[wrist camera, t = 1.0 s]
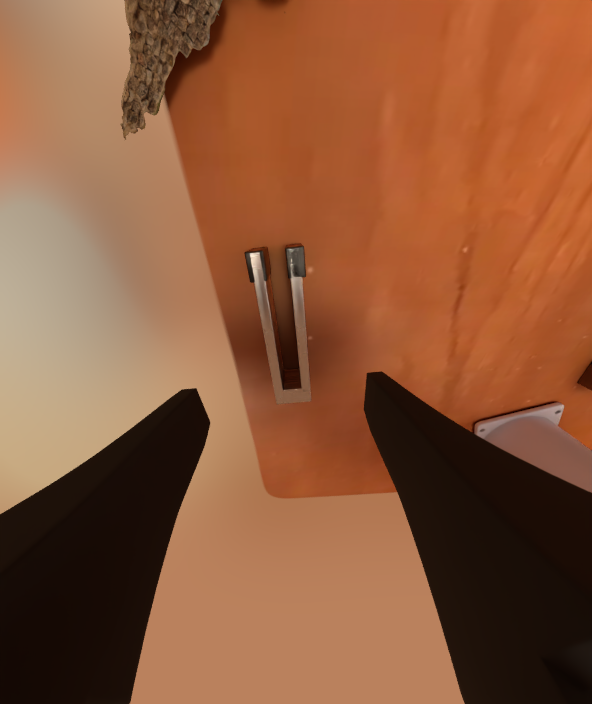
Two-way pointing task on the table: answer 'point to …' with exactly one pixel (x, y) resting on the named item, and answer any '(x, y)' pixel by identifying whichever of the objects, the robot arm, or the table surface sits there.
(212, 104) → the table surface
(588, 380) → the green-topped brown box
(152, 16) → the bark
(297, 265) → the brown u-shaped piece
